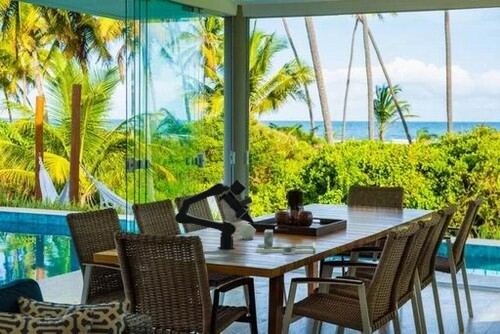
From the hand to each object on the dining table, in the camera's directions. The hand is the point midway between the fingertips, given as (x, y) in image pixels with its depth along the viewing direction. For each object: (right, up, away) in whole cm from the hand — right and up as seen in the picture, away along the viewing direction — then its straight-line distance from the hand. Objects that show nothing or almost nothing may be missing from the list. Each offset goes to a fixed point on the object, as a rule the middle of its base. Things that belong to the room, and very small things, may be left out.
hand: (253, 223), depth 454 cm
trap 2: (+20, -13, +12) cm, 26 cm away
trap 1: (+18, -15, -13) cm, 26 cm away
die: (-3, -11, +39) cm, 41 cm away
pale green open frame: (+17, -14, 0) cm, 22 cm away
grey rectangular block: (+13, -14, 0) cm, 19 cm away
